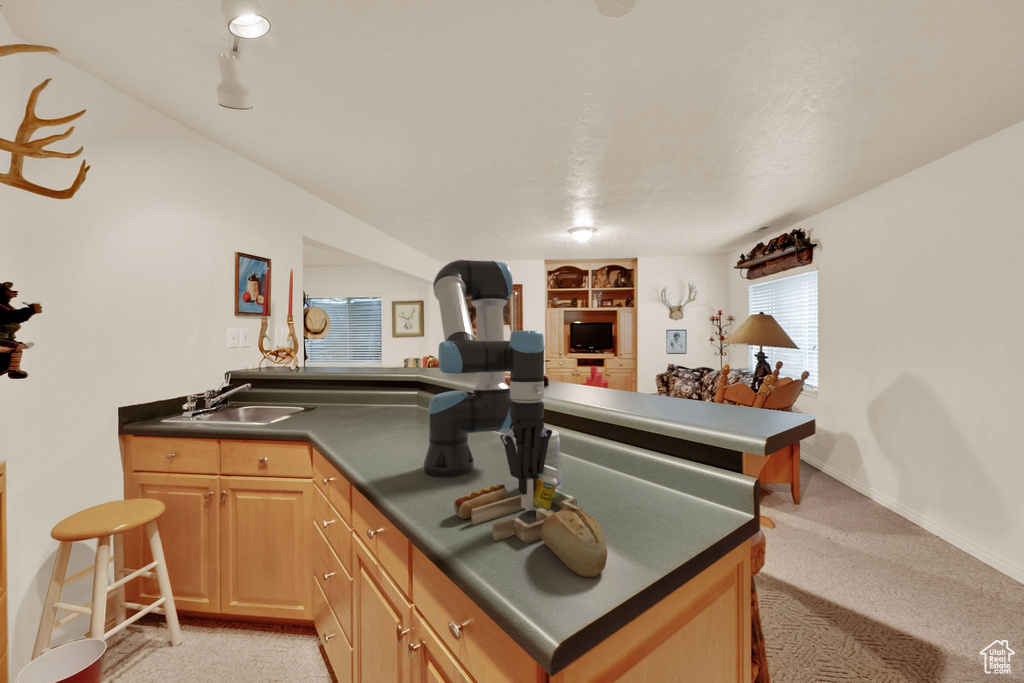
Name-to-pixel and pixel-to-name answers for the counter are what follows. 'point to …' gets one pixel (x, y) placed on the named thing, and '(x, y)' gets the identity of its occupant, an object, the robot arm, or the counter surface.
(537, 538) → the light wood frame
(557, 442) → the supplement tub
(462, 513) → the food
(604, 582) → the counter surface
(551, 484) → the supplement bottle
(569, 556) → the bread roll
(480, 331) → the robot arm
